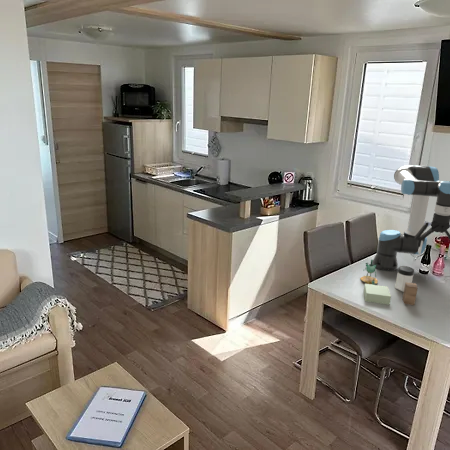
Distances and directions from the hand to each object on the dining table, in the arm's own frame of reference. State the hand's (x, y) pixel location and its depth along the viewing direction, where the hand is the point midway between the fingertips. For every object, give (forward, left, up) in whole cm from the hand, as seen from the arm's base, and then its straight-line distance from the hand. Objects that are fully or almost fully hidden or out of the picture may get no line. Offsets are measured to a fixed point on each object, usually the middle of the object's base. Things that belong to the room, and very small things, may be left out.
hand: (433, 254), depth 205 cm
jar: (-18, -7, -28) cm, 34 cm away
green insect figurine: (-21, -25, -28) cm, 43 cm away
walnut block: (-1, -7, -28) cm, 29 cm away
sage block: (-1, -23, -28) cm, 37 cm away
